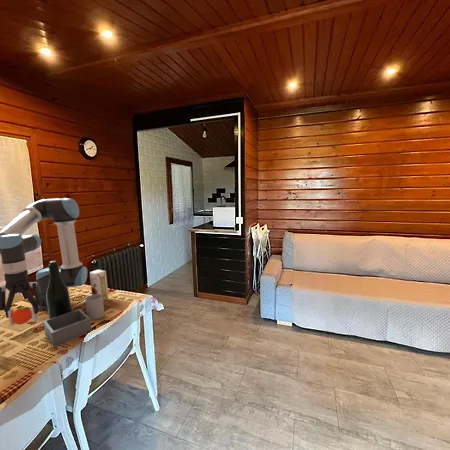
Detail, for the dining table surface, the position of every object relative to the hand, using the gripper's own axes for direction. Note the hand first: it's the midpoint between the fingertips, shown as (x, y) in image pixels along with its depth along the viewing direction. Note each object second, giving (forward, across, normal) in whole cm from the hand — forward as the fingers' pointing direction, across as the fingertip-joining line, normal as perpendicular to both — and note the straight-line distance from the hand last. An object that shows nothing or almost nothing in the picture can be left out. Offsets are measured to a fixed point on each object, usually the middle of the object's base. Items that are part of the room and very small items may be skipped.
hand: (24, 322), depth 108 cm
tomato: (0, 0, 0) cm, 1 cm away
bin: (+13, +13, +10) cm, 21 cm away
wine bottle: (+13, +6, +24) cm, 28 cm away
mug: (+13, +23, +25) cm, 36 cm away
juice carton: (+13, +21, +45) cm, 51 cm away
